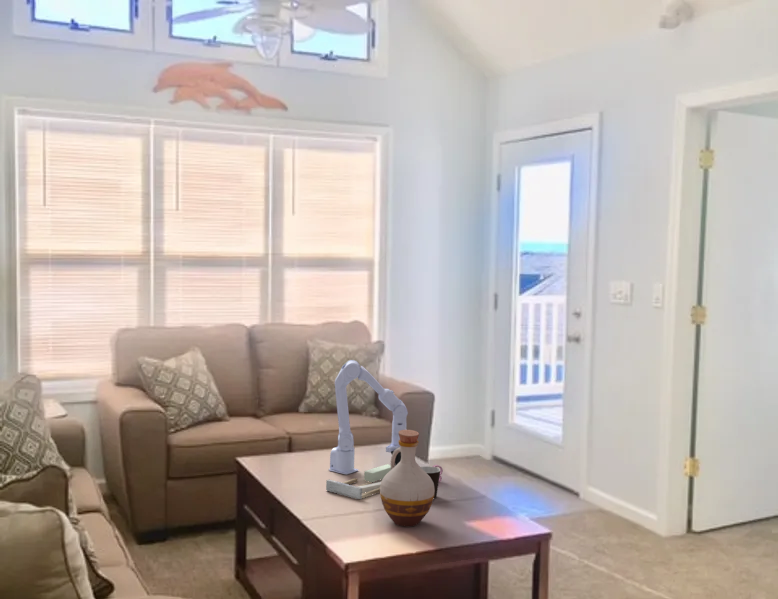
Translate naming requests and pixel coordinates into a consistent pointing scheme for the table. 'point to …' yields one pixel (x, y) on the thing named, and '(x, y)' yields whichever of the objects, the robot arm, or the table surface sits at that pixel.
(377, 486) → the white bar
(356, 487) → the organizer
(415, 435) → the jug
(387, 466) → the sage bar
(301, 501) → the table surface
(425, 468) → the coffee mug
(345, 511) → the table surface
